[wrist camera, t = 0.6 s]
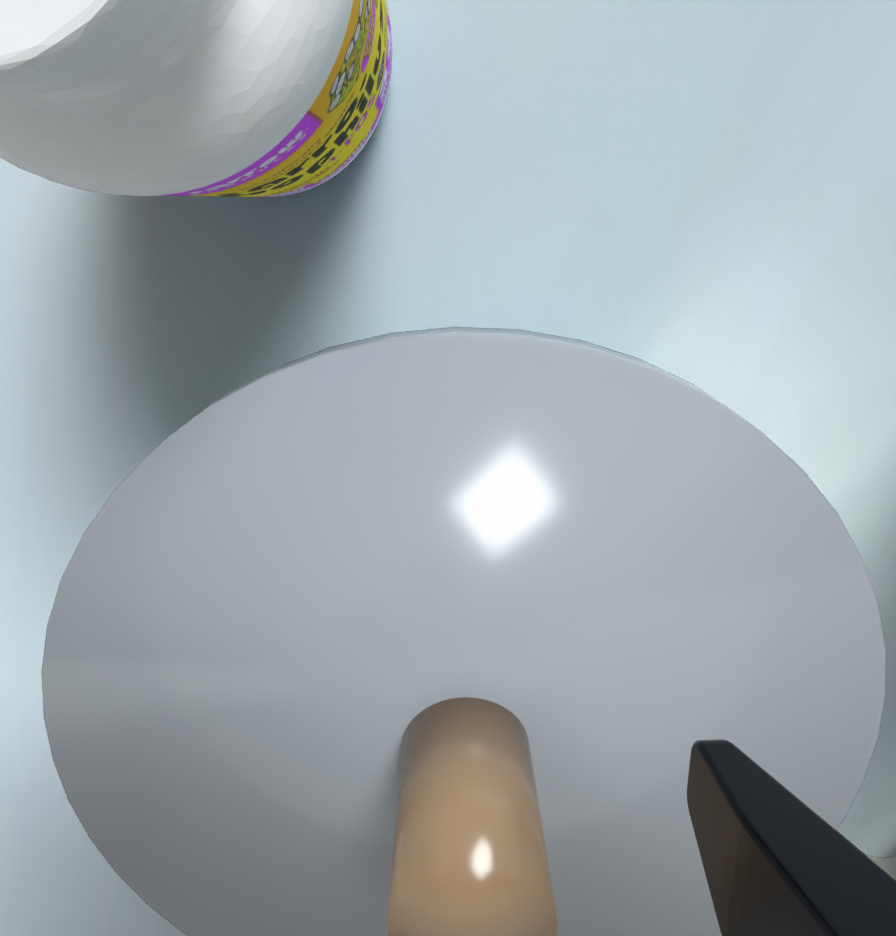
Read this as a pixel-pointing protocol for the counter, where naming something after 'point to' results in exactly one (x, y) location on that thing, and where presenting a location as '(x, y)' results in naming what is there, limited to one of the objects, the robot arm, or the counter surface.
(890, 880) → the robot arm
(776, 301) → the counter surface
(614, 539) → the lid
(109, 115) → the supplement bottle
